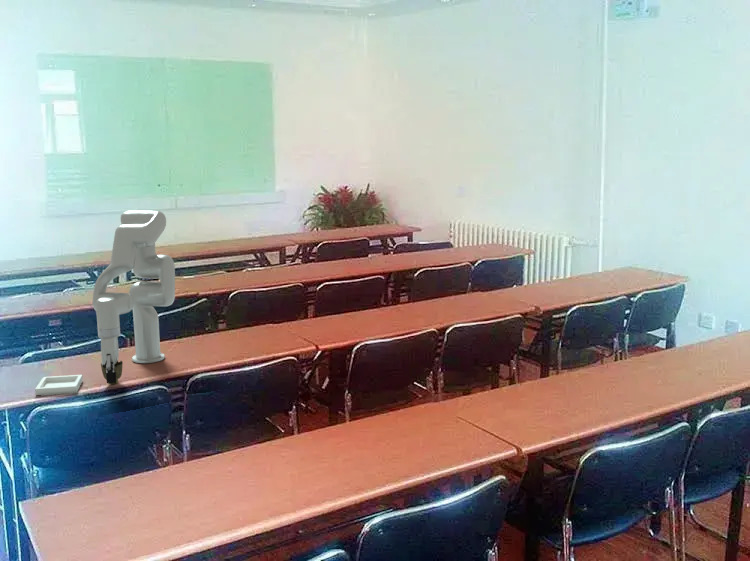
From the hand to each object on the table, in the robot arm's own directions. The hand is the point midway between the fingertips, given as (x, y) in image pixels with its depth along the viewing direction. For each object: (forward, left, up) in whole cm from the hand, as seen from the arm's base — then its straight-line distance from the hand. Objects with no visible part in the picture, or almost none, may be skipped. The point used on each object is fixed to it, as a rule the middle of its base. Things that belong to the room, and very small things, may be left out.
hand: (112, 379), depth 273 cm
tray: (0, -18, -2) cm, 18 cm away
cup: (0, 0, -2) cm, 2 cm away
